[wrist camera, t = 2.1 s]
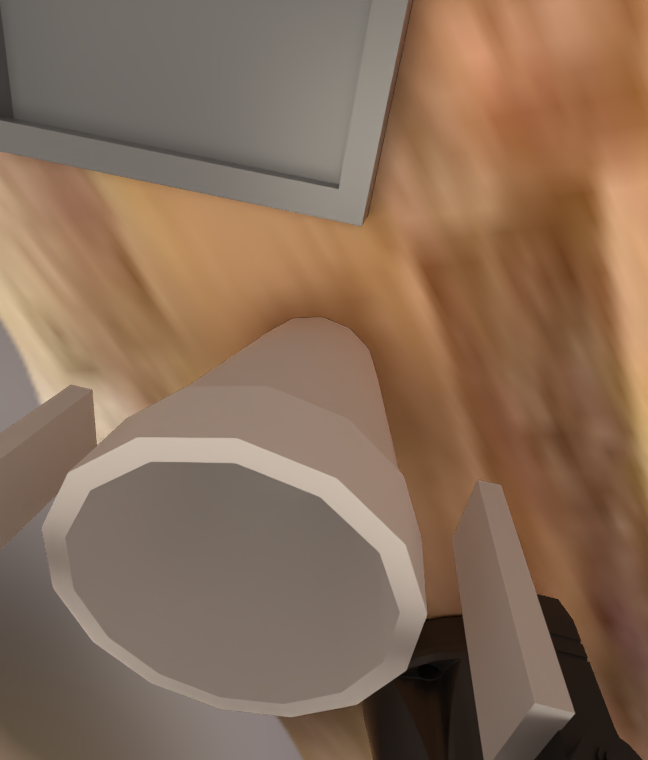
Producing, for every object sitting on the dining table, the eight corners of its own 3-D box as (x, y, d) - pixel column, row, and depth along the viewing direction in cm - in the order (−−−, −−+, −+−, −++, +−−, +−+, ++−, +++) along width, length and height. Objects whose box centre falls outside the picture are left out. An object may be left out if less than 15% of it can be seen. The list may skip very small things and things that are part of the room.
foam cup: (204, 413, 24) (29, 637, 13) (252, 253, 20) (58, 365, 8) (363, 477, 25) (336, 754, 13) (442, 333, 20) (507, 547, 9)
